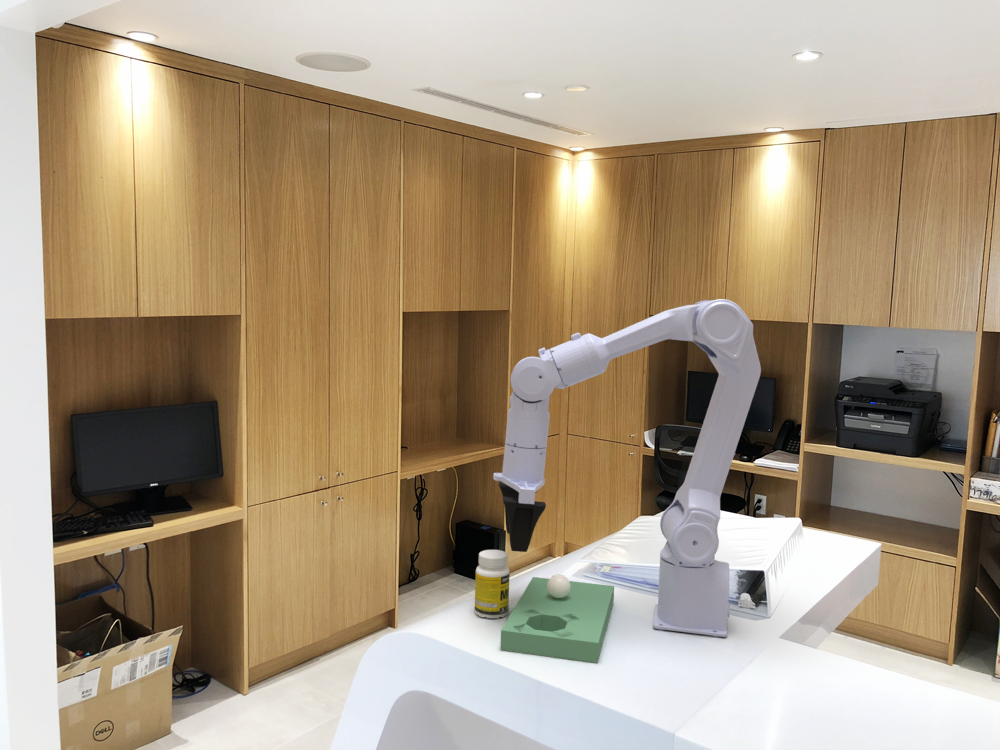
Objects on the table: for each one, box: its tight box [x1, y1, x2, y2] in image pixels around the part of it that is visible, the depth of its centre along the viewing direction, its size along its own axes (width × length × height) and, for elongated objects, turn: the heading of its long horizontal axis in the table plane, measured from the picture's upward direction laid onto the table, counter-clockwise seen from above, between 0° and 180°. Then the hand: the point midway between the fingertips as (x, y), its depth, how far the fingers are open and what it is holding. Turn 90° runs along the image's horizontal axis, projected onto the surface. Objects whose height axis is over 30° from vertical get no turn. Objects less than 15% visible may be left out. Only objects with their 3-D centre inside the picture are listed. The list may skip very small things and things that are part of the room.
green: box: [500, 576, 615, 664], centre depth 103 cm, size 12×20×2 cm, turn 166°
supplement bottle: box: [474, 549, 511, 619], centre depth 106 cm, size 5×5×8 cm
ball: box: [547, 574, 570, 598], centre depth 106 cm, size 3×3×3 cm
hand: (516, 541), depth 106 cm, fingers open, 7 cm apart
